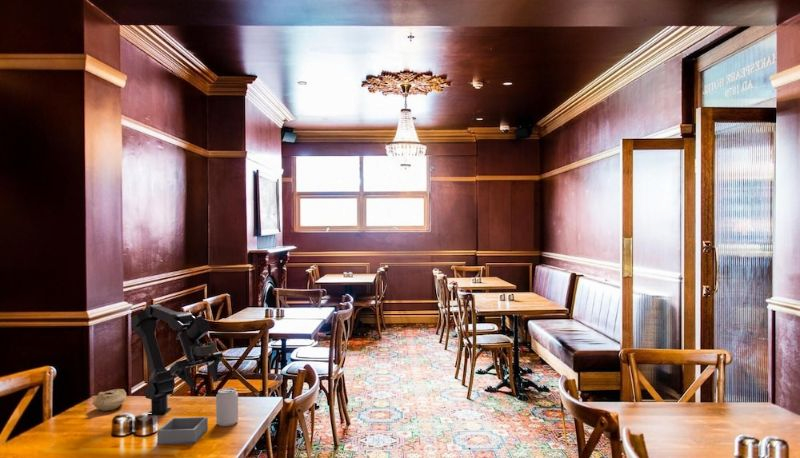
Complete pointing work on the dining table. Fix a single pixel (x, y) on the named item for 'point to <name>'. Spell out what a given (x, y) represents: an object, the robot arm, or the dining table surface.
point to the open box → (182, 430)
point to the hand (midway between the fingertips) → (205, 385)
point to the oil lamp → (109, 399)
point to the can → (227, 407)
